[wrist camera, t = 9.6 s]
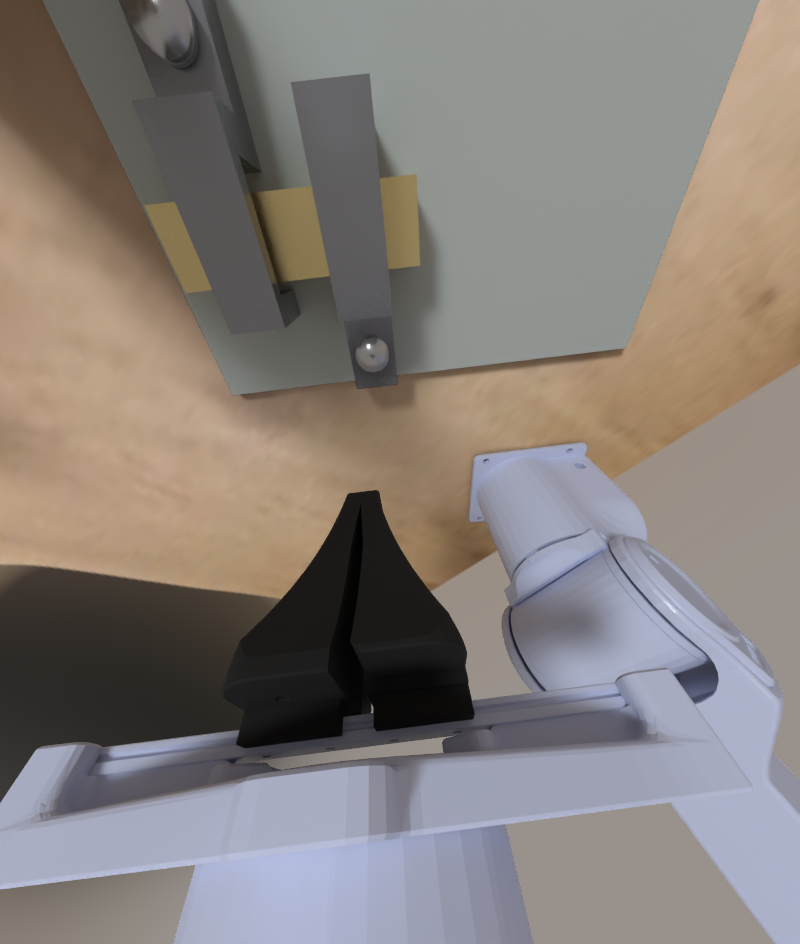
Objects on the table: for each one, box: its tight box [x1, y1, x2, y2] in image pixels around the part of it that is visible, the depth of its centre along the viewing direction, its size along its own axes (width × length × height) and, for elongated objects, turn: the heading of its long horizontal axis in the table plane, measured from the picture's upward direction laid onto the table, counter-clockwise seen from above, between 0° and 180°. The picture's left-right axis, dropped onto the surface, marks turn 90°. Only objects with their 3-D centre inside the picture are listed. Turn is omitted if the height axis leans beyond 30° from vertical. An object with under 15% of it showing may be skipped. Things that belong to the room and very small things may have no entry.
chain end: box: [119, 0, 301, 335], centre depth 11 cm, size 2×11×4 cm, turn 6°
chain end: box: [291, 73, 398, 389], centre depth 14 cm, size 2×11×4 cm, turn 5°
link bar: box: [144, 174, 420, 293], centre depth 13 cm, size 11×3×2 cm, turn 95°
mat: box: [42, 0, 759, 395], centre depth 14 cm, size 26×15×1 cm, turn 95°
